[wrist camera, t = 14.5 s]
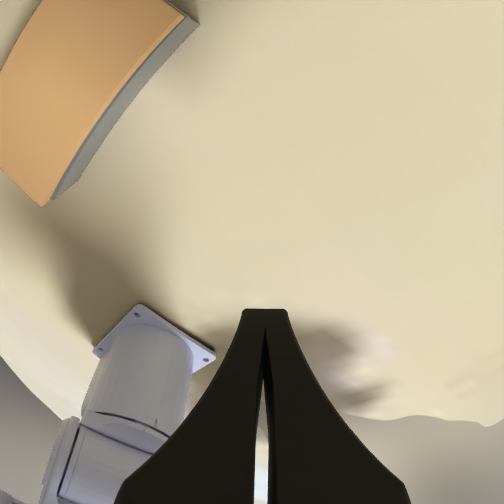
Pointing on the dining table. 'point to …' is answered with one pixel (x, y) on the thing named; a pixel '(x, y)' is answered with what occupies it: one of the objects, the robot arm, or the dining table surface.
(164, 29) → the cover
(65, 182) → the grey angled bars
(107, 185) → the dining table surface
